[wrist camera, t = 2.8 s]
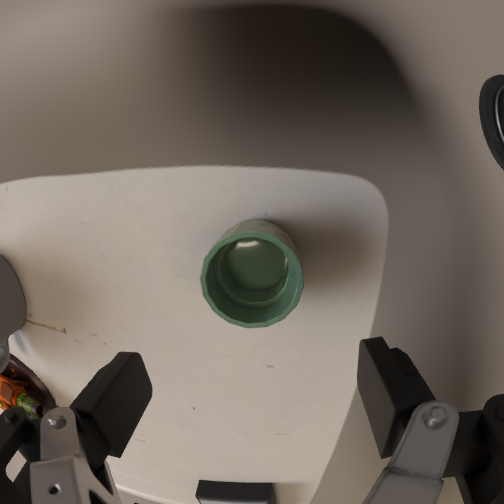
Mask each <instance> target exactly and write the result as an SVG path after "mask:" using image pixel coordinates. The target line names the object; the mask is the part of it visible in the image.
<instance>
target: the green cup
mask: <svg viewBox="0 0 504 504" xmlns="http://www.w3.org/2000/svg"><path fill="white" fill-rule="evenodd" d="M200 281H201V286H202V291H203V296H204V298H205V299H206V301H207V302H208V304H209V305H210V307H211V308H212V310H213V311H214V312H215V313H216V314H217V315H219V316H220V317H222V318H223V319H224V320H226V321H227V322H228V323H231V324H234V325H238V326H241V327H245V328H259V327H268V326H270V325H272V324H274V323H276V322H279V321H281V320H283V319H284V318H285V317H286V316H287V315H288V314H289V313H290V312H291V311H292V310H293V309H294V308H295V307H296V306H297V304H298V301H299V299H300V296H301V293H302V290H303V287H304V286H303V272H302V266H301V263H300V259H299V256H298V252H297V249H296V247H295V245H294V243H293V241H292V239H291V238H290V236H289V235H288V234H287V233H286V232H285V231H284V230H282V229H281V228H280V227H279V226H277V225H276V224H273V223H270V222H266V221H263V220H251V221H243V222H241V223H239V224H237V225H236V226H234V227H232V228H230V229H229V230H228V231H227V232H226V233H225V234H224V235H223V236H222V237H221V238H220V239H219V240H218V241H217V243H216V244H215V245H214V246H213V248H212V249H211V250H210V252H209V253H208V254H207V256H206V257H205V259H204V262H203V266H202V270H201V275H200Z"/></svg>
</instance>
